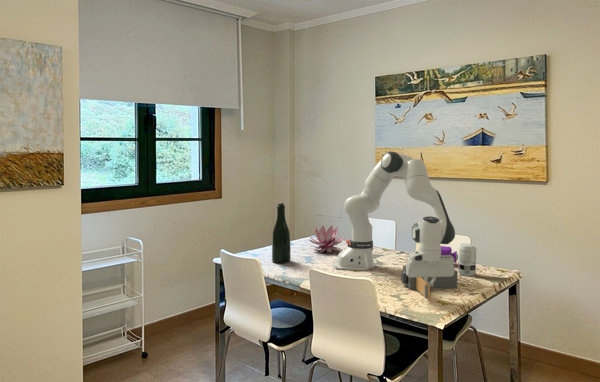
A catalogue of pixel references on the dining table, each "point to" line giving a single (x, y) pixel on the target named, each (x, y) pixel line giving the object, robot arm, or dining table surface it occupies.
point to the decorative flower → (326, 239)
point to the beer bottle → (281, 237)
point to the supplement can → (467, 260)
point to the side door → (423, 287)
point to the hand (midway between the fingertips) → (429, 286)
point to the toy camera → (449, 252)
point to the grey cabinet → (438, 284)
